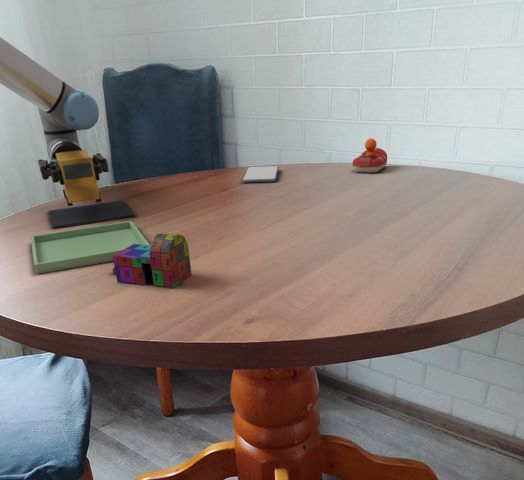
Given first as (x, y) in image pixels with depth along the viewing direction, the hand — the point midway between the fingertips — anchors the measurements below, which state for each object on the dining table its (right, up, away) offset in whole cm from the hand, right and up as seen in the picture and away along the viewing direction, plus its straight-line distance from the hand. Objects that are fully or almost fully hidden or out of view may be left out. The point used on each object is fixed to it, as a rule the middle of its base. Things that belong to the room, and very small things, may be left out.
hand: (79, 175), depth 105 cm
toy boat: (+64, +13, +36) cm, 74 cm away
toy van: (-2, -3, +7) cm, 8 cm away
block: (+19, -23, -24) cm, 38 cm away
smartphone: (+36, +11, +34) cm, 51 cm away
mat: (-1, -5, +9) cm, 10 cm away
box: (+6, -16, -12) cm, 21 cm away
